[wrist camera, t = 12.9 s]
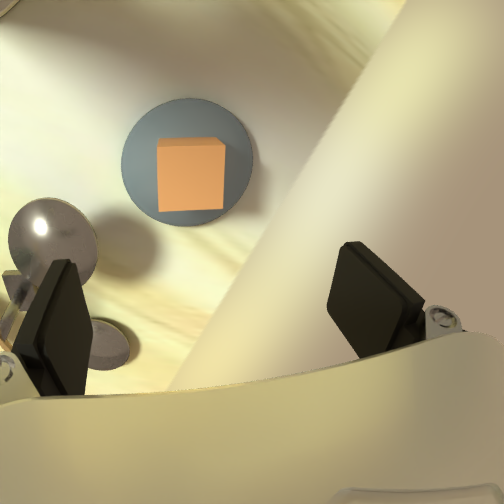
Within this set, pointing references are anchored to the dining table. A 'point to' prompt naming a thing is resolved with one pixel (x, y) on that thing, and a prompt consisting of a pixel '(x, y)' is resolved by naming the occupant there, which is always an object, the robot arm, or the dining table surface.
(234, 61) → the dining table surface
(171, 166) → the block
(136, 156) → the dish
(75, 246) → the balance
